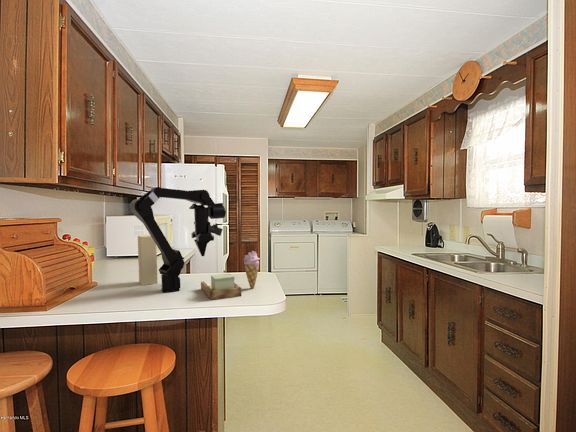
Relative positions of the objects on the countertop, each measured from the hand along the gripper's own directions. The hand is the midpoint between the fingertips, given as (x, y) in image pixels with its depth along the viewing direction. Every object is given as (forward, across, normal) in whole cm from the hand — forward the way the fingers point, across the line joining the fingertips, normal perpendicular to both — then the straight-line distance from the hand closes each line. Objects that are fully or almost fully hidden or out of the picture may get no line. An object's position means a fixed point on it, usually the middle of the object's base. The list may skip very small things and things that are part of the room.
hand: (202, 256), depth 149 cm
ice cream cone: (+12, -18, -16) cm, 27 cm away
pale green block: (+11, -22, -3) cm, 24 cm away
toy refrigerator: (+12, +15, +21) cm, 29 cm away
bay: (+12, -18, -3) cm, 21 cm away
